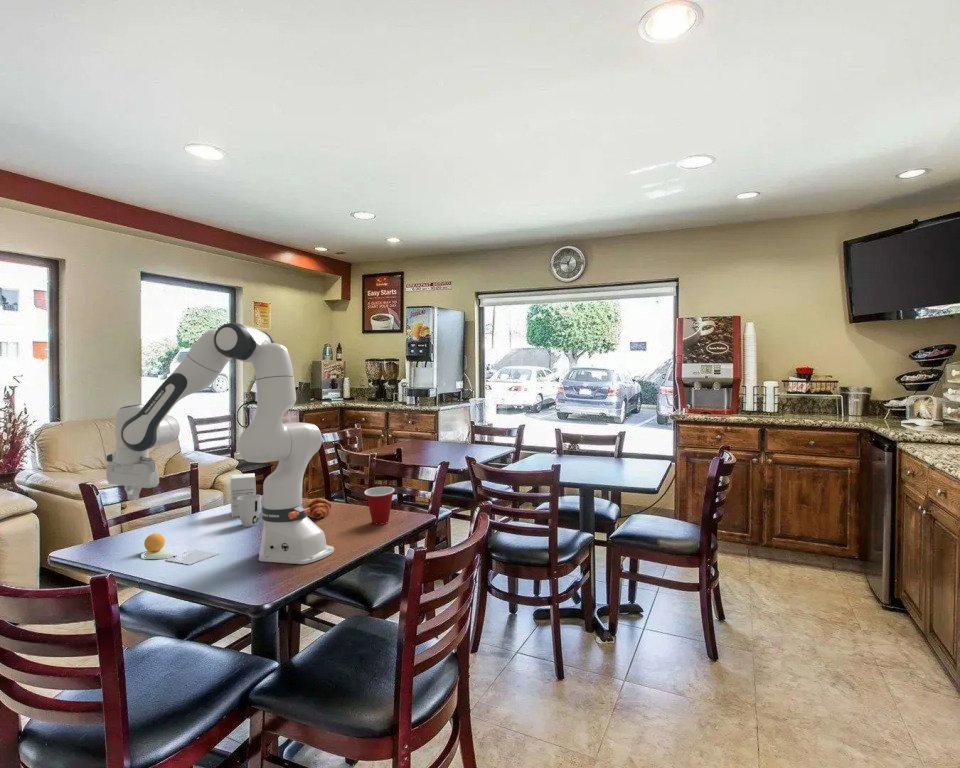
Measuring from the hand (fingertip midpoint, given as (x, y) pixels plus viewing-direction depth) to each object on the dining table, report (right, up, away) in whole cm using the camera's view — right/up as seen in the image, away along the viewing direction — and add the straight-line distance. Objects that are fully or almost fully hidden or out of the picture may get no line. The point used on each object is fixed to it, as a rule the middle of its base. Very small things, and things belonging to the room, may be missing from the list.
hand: (133, 499), depth 170 cm
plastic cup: (+73, -14, +25) cm, 79 cm away
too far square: (+24, -15, -10) cm, 30 cm away
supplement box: (+17, -14, +41) cm, 47 cm away
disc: (+13, -15, -5) cm, 21 cm away
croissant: (+47, -14, +39) cm, 62 cm away
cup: (+26, -15, +25) cm, 39 cm away
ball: (+9, -12, -4) cm, 16 cm away
